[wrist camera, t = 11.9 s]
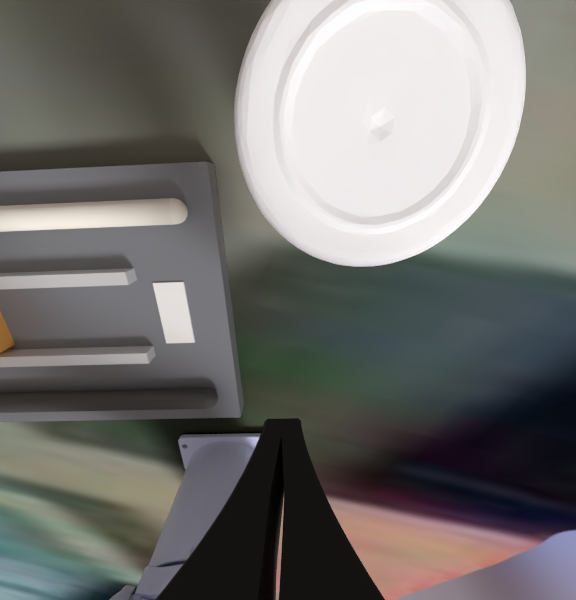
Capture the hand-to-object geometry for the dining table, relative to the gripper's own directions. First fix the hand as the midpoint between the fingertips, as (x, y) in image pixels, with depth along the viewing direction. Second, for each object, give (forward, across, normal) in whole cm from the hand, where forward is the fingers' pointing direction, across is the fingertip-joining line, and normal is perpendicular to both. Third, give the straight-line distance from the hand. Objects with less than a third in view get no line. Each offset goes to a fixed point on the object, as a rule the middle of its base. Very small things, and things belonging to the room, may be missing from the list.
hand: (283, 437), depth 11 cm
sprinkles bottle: (+10, -2, -10) cm, 14 cm away
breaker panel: (+10, +16, -2) cm, 19 cm away
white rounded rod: (+8, +16, -8) cm, 20 cm away
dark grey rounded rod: (+8, +16, +4) cm, 19 cm away
